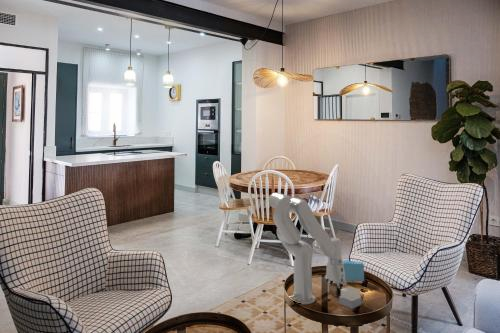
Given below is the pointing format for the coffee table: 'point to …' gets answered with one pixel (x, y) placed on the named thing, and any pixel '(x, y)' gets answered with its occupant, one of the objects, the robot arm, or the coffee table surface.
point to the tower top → (350, 293)
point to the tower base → (350, 302)
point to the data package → (353, 271)
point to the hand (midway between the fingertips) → (335, 292)
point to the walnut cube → (333, 289)
